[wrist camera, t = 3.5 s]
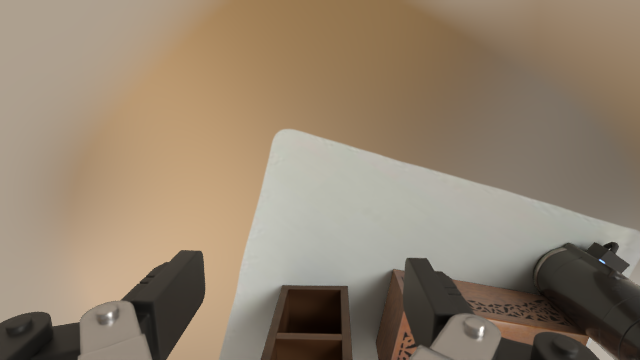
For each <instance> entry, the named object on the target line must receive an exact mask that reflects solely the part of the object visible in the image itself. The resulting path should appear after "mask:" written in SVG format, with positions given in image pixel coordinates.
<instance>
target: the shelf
mask: <svg viewBox="0 0 640 360" xmlns="http://www.w3.org/2000/svg"><path fill="white" fill-rule="evenodd" d="M261 360H352V345H351V330H350V316H349V301H348V286H291V285H282V288H281V292H280V295H279V299H278V302H277V306H276V309H275V312H274V316H273V319H272V323H271V326H270V330H269V333H268V336H267V340H266V343H265V347H264V350H263V353H262V357H261Z"/></svg>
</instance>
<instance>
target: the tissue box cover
mask: <svg viewBox="0 0 640 360" xmlns="http://www.w3.org/2000/svg"><path fill="white" fill-rule="evenodd" d="M404 273H405V271H401V270H396V269H393V274H392V278H391V282H390V286H389V290H388V295H387V299H386V303H385V307H384V311H383V315H382V319H381V324H380V328H379V332H378V336H377V340H376V346H377V352H378V358H379V360H408V359H409V358H410V357H411V355H412V354H413V353H414V351H415V350H416V349H417V347H416V345H415V342H414V339H413V336H412V333H411V330H410V327H409V324H408V321H407V318H406V315H405V312H404V308H403V285H404ZM453 282H454V283H455V285H456V286H457V289H459V291H460V292H461V294H462V296H463V297H464V298H465V300H466V301H467V303H468V304H469V306H470V307H471V309H472V310H473V312H474V313H475V315H478V316H481V317H483V318H486V319H488V320H489V321H491V322H492V323H494V324H495V325H496V326H497V327H498V328H499V330H500V332H501V337H503V338H506V339H510V340H513V341H517V342H522V343H526V344H530V345H533V340H534V337H535V335H536V334H538V333H541V332H554V333H559V334H562V335H566V336H568V337H571V338H573V339H575V340H577V341H579V342H580V343H582V344H583V345H585V346H586V344H587V341H588V339H589V336H588V335H587V334H586V333H585V332H584V331H583V330H581V329H580V328H579V327H578V326H577V325H576V324H575V323H574V322H573V321H572V320H571V319H569V318H568V317H567V316H566V315H565V314H564V313H563V312H562V311H561V310H560V309H558V308H557V307H556V306H555V305H554V304H553V303H552V302H551V301H549V300H548V299H547V298H546V297H545V296H542V295H536V294H531V293H525V292H520V291H514V290H508V289H503V288H497V287H491V286H486V285H480V284H475V283H469V282H463V281H458V280H453Z"/></svg>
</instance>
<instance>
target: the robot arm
mask: <svg viewBox="0 0 640 360" xmlns="http://www.w3.org/2000/svg"><path fill="white" fill-rule="evenodd" d="M610 248H611V249H610ZM618 248H619V246H618V244H617V243H615V242H610V243H608V244H605V245H603V246H601V245H599V244H597V243H595V242H594V243H593V245H592V246H591V247H590V248H589V249H588V250H587V251H586V252H584V251H583V250H581V249H579V248H578V247H576V246H574V245H573V244H571V243H567V244H566V245H565V246H564V247H562V248H558V249H555V250H552V251H550V252H548V253H547V254H545V255H544V256H543V257H542V258H541V259H540V260H539V262H538V263H537V265H536V267H535V270H534V275H533V278H534V283H535V286H536V288H537V289H538V291H539V292H540V293H541V294H542V295H543V296H545V297H546V298H547V299H548V300H549V301H551V302H552V303H553V304H554V305H555V306H556V307H557V308H558V309H560V310H561V311H562V312H563V313H564V314H565V315H566V316H567V317H568V318H569V319H571V320H572V321H573V322H574V323H575V324H576V325H577V326H578V327H579V328H580V329H581V330H583V331H584V332H585V333H586V334H587V335H588V336H589V337H590V338H591V339H592V340H593V341H595V342H596V343H597V344H598V345H599V346H600V347H601V348H602V349H603V350H604V351H606V352H607V353H608V354H609V355H610V356H611V357H612V358H613V359H614V360H640V286H638V285H637V284H635V283H633V282H632V281H631V280H629V279H628V278H627V277H625V276H624V275H622V274H621V273H622V272H623V271H624V270H625V269H626V268H627V267H628V266H629V264H628V263H627V262H625V261H624V260H622V259H621V258H620V257H618V256H617V255H616V254H615V253H616V252H617V250H618ZM608 249H610V250H608ZM204 295H205V276H204V261H203V254H202V252H201V251H188V250H181V251H180V252H179V253H178V254H177V255H176V256H175V257H174V258H173V259H172V260H171V261H170V262H166V263H164V264H162V265H160V266H158V267H156V268H154V269H153V270H152V271H151V272H150V273H149V274H148V275H147V276H146V277H145V278H144V279H142V280H141V281H140V284H137V285H136V286H135V287H134V288H133V289H132V290H131V291H130V292H129V293H128V294H127V295H126V296H125V297H124V298H123V299H122V300H120V301H111V302H107V303H104V304H101V305H98V306H96V307H94V308H92V309H90V310H89V311H87V312H86V313H85V314H84V315H83V316H82V317H81V319H80V322H78V323H72V324H66V325H60V326H53V327H52V322H51V317H50V315H49V314H47V313H44V312H31V313H26V314H22V315H18V316H15V317H13V318H10V319H8V320H6V321H3V322H2V323H0V360H166V359H167V357H168V356H169V354H170V352H171V351H172V350H173V348H174V346H175V345H176V343H177V342H178V340H179V339H180V337H181V335H182V334H183V332H184V331H185V329H186V328H187V326H188V324H189V323H190V321H191V320H192V318H193V317H194V315H195V313H196V312H197V310H198V309H199V307H200V306H201V304H202V302H203V299H204ZM403 308H404V312H405V315H406V318H407V321H408V324H409V327H410V330H411V333H412V336H413V339H414V342H415V345H416V347H417V349H416V350H415V351H414V353H413V354H412V355H411V357H410V358H409V359H408V360H599V359H598V358H597V357H596V355H595V354H594V353H593V352H592V351H591V350H590V349H589V348H587V347H586V346H585V345H583V344H582V343H580V342H579V341H577V340H575V339H573V338H571V337H568V336H566V335H562V334H559V333H554V332H541V333H538V334H536V335H535V337H534V340H533V345H530V344H526V343H522V342H517V341H513V340H510V339H506V338H503V337H501V332H500V330H499V328H498V327H497V326H496V325H495V324H494V323H492V322H491V321H489V320H488V319H486V318H483V317H481V316H478V315H475V313H474V312H473V310H472V309H471V307H470V306H469V304H468V303H467V301H466V300H465V298H464V297H463V296H462V294H461V292H460V291H459V289H457V286H456V285H455V283H454V282H453V280H452V279H451V278H450V277H448V276H447V275H445V274H444V273H443V272H436V271H434V269H433V268H432V266H431V264H430V263H429V261H428V259H426V258H407V259H406V263H405V273H404V285H403Z"/></svg>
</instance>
